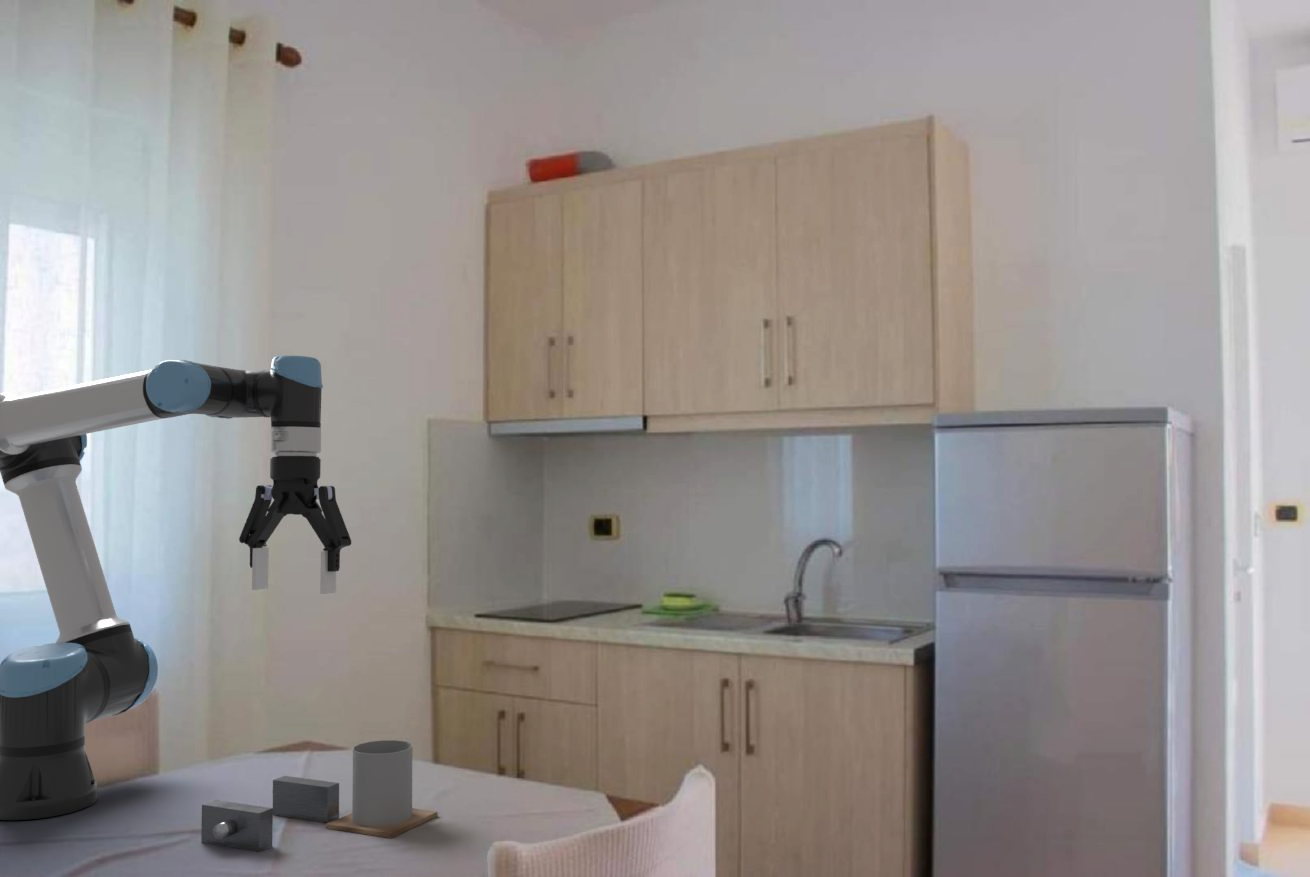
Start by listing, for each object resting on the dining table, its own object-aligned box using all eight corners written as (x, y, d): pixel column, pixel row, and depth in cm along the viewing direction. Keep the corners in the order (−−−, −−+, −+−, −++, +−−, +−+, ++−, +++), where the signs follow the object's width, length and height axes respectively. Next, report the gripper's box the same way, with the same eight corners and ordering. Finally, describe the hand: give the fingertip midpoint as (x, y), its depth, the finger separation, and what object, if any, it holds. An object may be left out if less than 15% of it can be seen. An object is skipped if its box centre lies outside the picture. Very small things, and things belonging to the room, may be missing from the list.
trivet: (326, 828, 158) (326, 824, 158) (375, 807, 168) (375, 803, 168) (390, 838, 153) (390, 833, 153) (437, 815, 164) (437, 811, 164)
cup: (396, 828, 156) (397, 755, 156) (341, 825, 157) (342, 752, 158) (421, 810, 164) (421, 741, 164) (368, 807, 166) (369, 739, 166)
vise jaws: (189, 846, 150) (190, 808, 150) (294, 806, 168) (294, 772, 169) (247, 856, 146) (247, 817, 146) (347, 814, 164) (348, 779, 165)
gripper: (217, 454, 178) (214, 589, 177) (343, 454, 168) (341, 597, 167) (252, 455, 185) (250, 585, 184) (375, 455, 175) (373, 592, 174)
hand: (293, 591), depth 176 cm, fingers open, 13 cm apart
